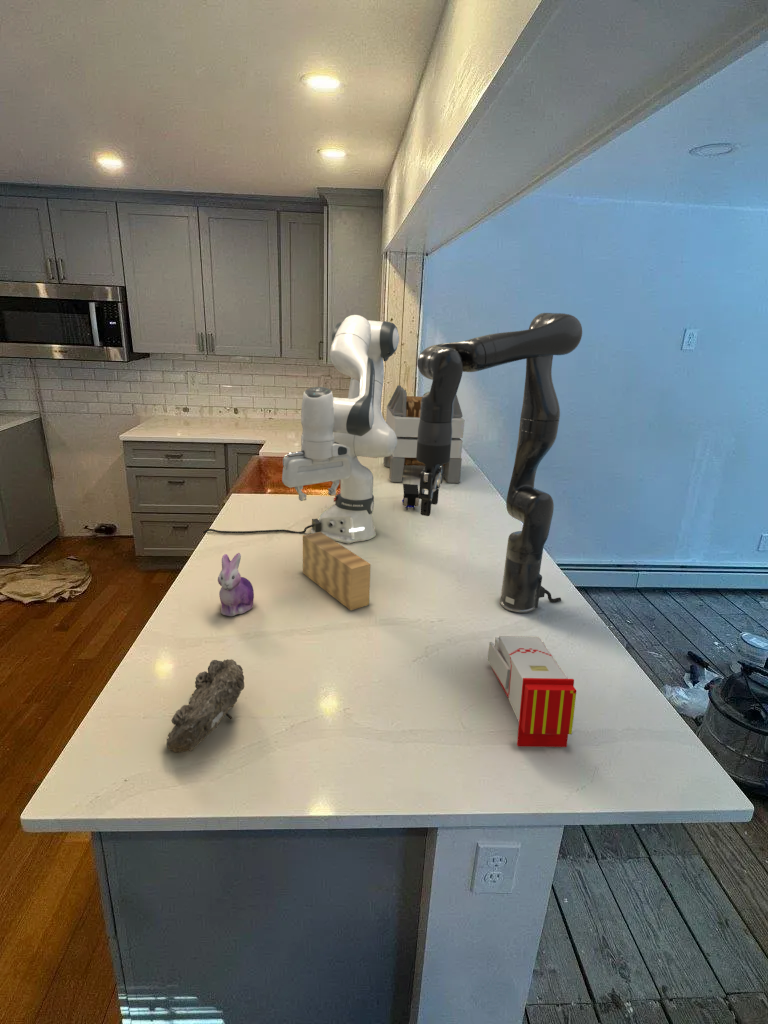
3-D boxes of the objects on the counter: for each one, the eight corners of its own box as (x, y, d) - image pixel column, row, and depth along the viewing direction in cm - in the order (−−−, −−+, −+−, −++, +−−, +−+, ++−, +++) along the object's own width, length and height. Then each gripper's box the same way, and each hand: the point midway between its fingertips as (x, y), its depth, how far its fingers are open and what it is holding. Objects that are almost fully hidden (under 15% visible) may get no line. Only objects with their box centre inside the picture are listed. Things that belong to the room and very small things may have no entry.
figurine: (223, 621, 140) (219, 566, 135) (214, 602, 149) (210, 550, 144) (260, 613, 144) (258, 559, 139) (250, 595, 153) (247, 544, 148)
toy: (536, 619, 129) (586, 686, 99) (531, 673, 131) (578, 754, 102) (483, 618, 128) (517, 685, 99) (479, 672, 131) (511, 753, 102)
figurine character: (419, 515, 222) (416, 499, 236) (420, 498, 219) (418, 482, 232) (402, 515, 222) (400, 498, 235) (403, 497, 218) (401, 482, 232)
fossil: (192, 660, 117) (244, 628, 112) (224, 691, 120) (276, 661, 115) (142, 746, 98) (202, 712, 93) (182, 779, 101) (242, 748, 96)
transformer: (382, 463, 289) (386, 382, 275) (445, 464, 293) (451, 384, 279) (390, 482, 257) (394, 392, 243) (460, 483, 261) (468, 394, 247)
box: (302, 573, 167) (302, 535, 163) (320, 568, 171) (320, 531, 167) (350, 610, 148) (351, 568, 144) (369, 604, 151) (370, 563, 147)
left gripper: (288, 456, 145) (289, 506, 150) (355, 447, 157) (353, 495, 162) (277, 450, 150) (278, 500, 155) (342, 443, 162) (341, 489, 166)
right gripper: (445, 449, 118) (439, 521, 123) (456, 435, 131) (450, 502, 136) (410, 445, 120) (406, 517, 125) (424, 432, 133) (420, 498, 138)
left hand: (317, 497), depth 158 cm, fingers open, 8 cm apart
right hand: (429, 509), depth 131 cm, fingers open, 8 cm apart
